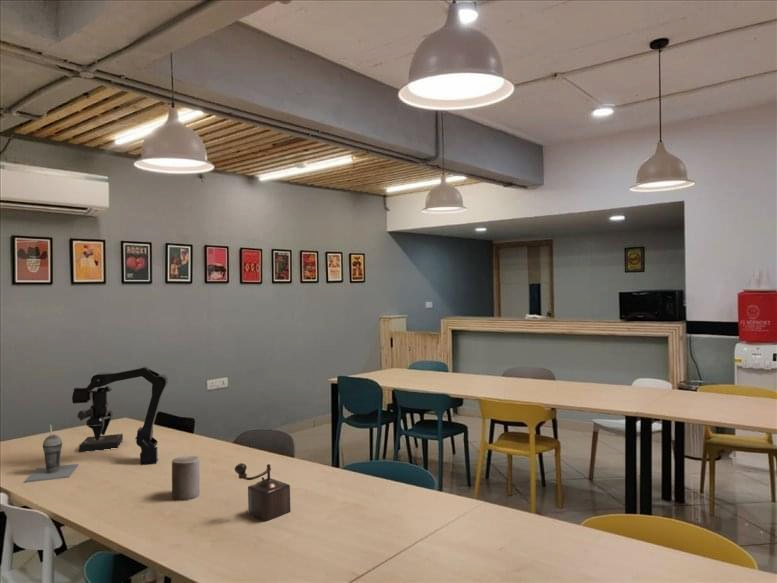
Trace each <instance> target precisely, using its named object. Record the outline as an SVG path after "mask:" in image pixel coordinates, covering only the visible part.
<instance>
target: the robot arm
mask: <svg viewBox="0 0 777 583" xmlns="http://www.w3.org/2000/svg"><path fill="white" fill-rule="evenodd" d="M140 377H142V378H144V379H145V380H146V381H147V382H149V384H151V385H152V386H151V398H150V402H149V404H148V408H147V412H146V415H145V419H144V423H143V426H142V427H141V426H140V427H138V430H137V431H136V437H135V443H136V445H137V446H138V447H139V448H140V449H141V451H140V453H139V463H140V465H141V466H142V465H143V464H144V465H152V464H153V463H155V464H157V462H158V461H159V458H158V455H159V454H158V446H157V445H158V440H157V439H155V438H154V437H153V436H154V424H155V419H156V416H157V412H158V409H159V406H160V401H161V398H162V395H163V394H164V391H165V390H166V388H167V385H168V382H169V379H168V377H167V376H166V375H165V374H160V373H158V372H156V371H154V370H153V369H150V368H149V367H148V366H143V367H139V368H133V369H129V370H122V371H118V372H99V373H97V374H94V375H93V376H92V377H91V378H90V383H89V384H88V385H87V387H74V388H73V392H72V397H71V401H72V404H74V405H75V404H86V403H89V402H90V401H91V402H92V404H91V405H90V408H87V409H85V410H84V409H82V410H80V411H78V413H77V419H79V421H83V420H85V419H87V420H86V426H87V427H88V428H90V429H92V433H93V436H95V438H96V440H99V438H100V436H104V435H106V432H107V430H108V428H109V425H110V423H111V420H112V418H113V411H112V410H111V409H110V410H108V406H109V402H108V392H111V391H112V390H113V388H111V387H109V384H112V383H115V382H119V381H125V380H130V379H135V378H140ZM104 386H105V387H104Z"/></svg>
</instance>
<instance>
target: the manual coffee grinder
mask: <svg viewBox="0 0 777 583" xmlns="http://www.w3.org/2000/svg"><path fill="white" fill-rule="evenodd" d="M271 466H272V465H271V464H269V463H268V464H266V470H265V471H263V472H261V473H259V474H257V475H255V476H251V477H247V476H248V474H247V472H246V470H247V468H248V467H247V464H245V463H238V464H236V466H235V467H234V472H235V473H236V474H238V479H240V480H246V481H252V480H257V479H259V478H261V481H258V482H256V483H255V484H252V485H251V484H250V485H248V486H247V502H248V504H247V505H248V508H247V509H248V510H247V511H248V512H247V514H248V515H250V516H251V517H253V518H255V519H257V520H260V521H263V522H268V521H271V520H275V519H277V518H279V517H282V516H284V515H286V514H288V513H291V485H290V484H288V483H286V482H282V481H280V480H276V479H275V478H271V471H272V467H271ZM266 474H267V477H266V478H265V477H263V476H265V475H266Z"/></svg>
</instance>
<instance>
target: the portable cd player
mask: <svg viewBox="0 0 777 583" xmlns="http://www.w3.org/2000/svg"><path fill="white" fill-rule="evenodd" d="M123 437H124V435H123V433H118V434H117V433H115V434H109V435H108V434H107V435H106V434H104V435H100V438H99V440H96V438H95V435H93V436H87V437H86V438H85V439H84V440H83V441H82V442H81V443H80V444H79V447H78V452H79V453H87V452H86V451H89V452H96V451H95V450H99V451H105V450H104V449H110V450H112V449H111V448H118V449H119V447H120V446H121V444H122V443H123V441H124V439H123ZM122 440H123V441H122ZM121 442H122V443H121ZM120 443H121V444H120ZM119 445H120V446H119ZM118 446H119V447H118Z"/></svg>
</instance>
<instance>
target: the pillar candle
mask: <svg viewBox="0 0 777 583" xmlns="http://www.w3.org/2000/svg"><path fill="white" fill-rule="evenodd" d="M200 460H201V459H200V457H199V456H196V455H183V456H177V457H175V458H173V459H172V460H171V493H172V494H171V499H172V498H173V499H172V500H174V501H176V500H185V501H190V500H189V499H191V500H193V498H194V499H196V498H198V497H199V496H200V491H201V490H200V484H201V483H200V481H201V480H200V477H201V476H200ZM197 496H198V497H197ZM195 497H196V498H195Z"/></svg>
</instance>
